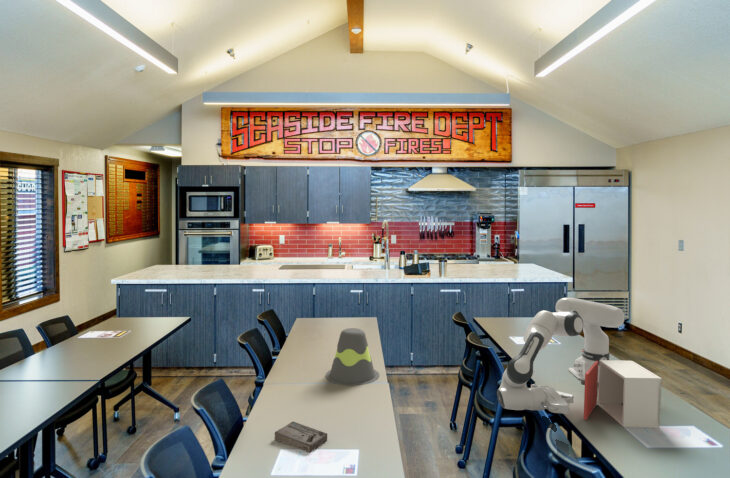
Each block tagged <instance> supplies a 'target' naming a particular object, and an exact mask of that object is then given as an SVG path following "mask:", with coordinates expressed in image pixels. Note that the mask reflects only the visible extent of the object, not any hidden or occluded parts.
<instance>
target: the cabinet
mask: <svg viewBox="0 0 730 478" xmlns="http://www.w3.org/2000/svg"><path fill="white" fill-rule="evenodd" d="M661 401H662V377H660V376H659V375H657V374H655V373H654V372H652V371H650V370H648V369H647V368H646V367H643V366H641V365H640V364H638V363H637V362H635V361H633V360H616V359H615V360H613V359H611V360H610V359H609V360H600V364H599V383H598V392H597V404H598V406H599V407H600V408H602V409H603V410H604V411H605V412H606V414H608V415H610V416H611V417H612V418H613V420H615V421H616V422H617V423H618V424H620V426H622V427H623V428H645V429H646V428H652V429H654V428H655V429H659V428H660V424H661V404H662V402H661Z"/></svg>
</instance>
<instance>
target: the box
mask: <svg viewBox="0 0 730 478" xmlns="http://www.w3.org/2000/svg"><path fill="white" fill-rule="evenodd" d="M274 440H275V441H276V440H277V441H279V442H282V443H283V444H285V445H288V446H291V447H294V448H296V449H299V450H301V451H304V452H306V453H312V452H313V451H315V449H316V448H318V447H320V446H322V445H323V444H324V443H326V442H327V441H328V433H327V432H325V431H321V430H318V429H315V428H313V427H310V426H307V425H305V424H301V423H299V422H296V421H291V422H290V423H287V424H286V425H284V426H283V427H281V428H279V429H278V430H276V431H275V432H274Z"/></svg>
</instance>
